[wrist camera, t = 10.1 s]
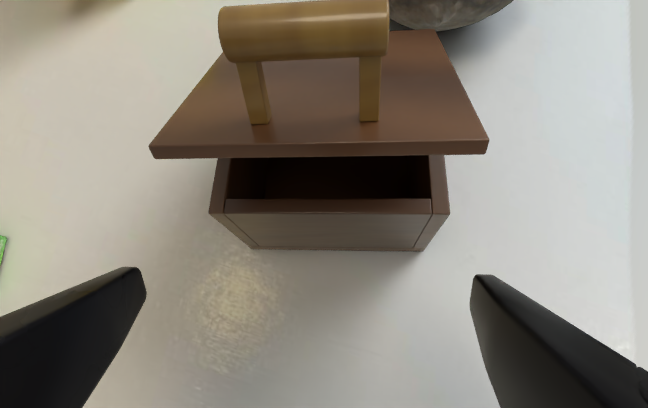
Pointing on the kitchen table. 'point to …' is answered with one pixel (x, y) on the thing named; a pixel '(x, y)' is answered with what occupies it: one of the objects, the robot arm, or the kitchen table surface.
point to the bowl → (442, 12)
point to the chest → (332, 201)
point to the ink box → (2, 246)
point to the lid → (323, 89)
